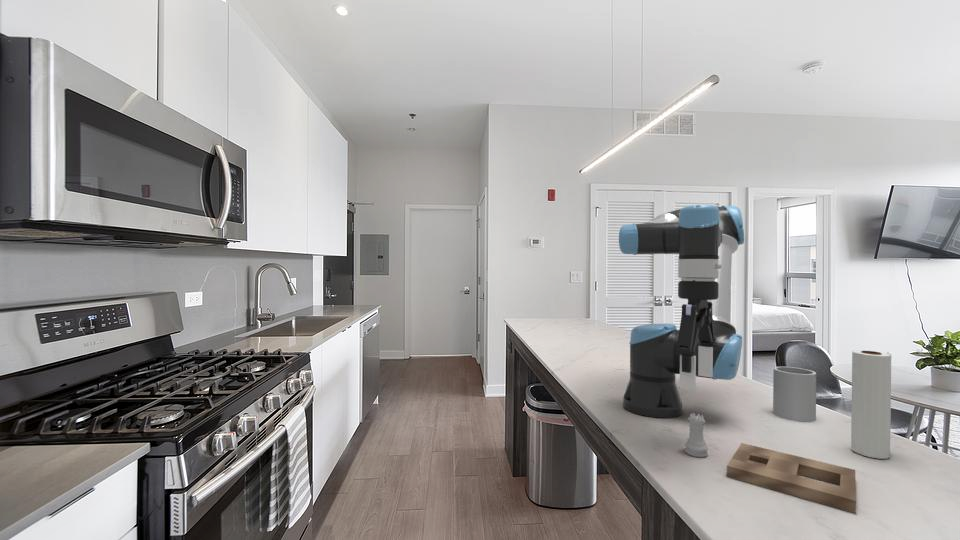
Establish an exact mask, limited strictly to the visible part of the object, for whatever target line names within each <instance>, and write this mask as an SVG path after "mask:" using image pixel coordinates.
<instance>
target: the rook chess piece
mask: <svg viewBox="0 0 960 540" xmlns="http://www.w3.org/2000/svg"><path fill="white" fill-rule="evenodd" d="M687 420H688V421H689V423H690V424H689V425H688V426H689V427H688V428H689V434H688V435H689V436H688V437H687V440H686V442H685V443H684V447H685V448H684V451H685V453H686V454H687V455H689V456H691V457H695V458H698V459H699V458H700V459H701V458H706V457H707V456H708V455H709V452H708V450H709V448H708V446H707V444H706V442H705V440H704V430H705V428H704V424H705V423H706V420H705V418H704V415H703V414H700V413H697V415H696V413H694V412H693V413H690V414H689V417H688V418H687Z"/></svg>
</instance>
